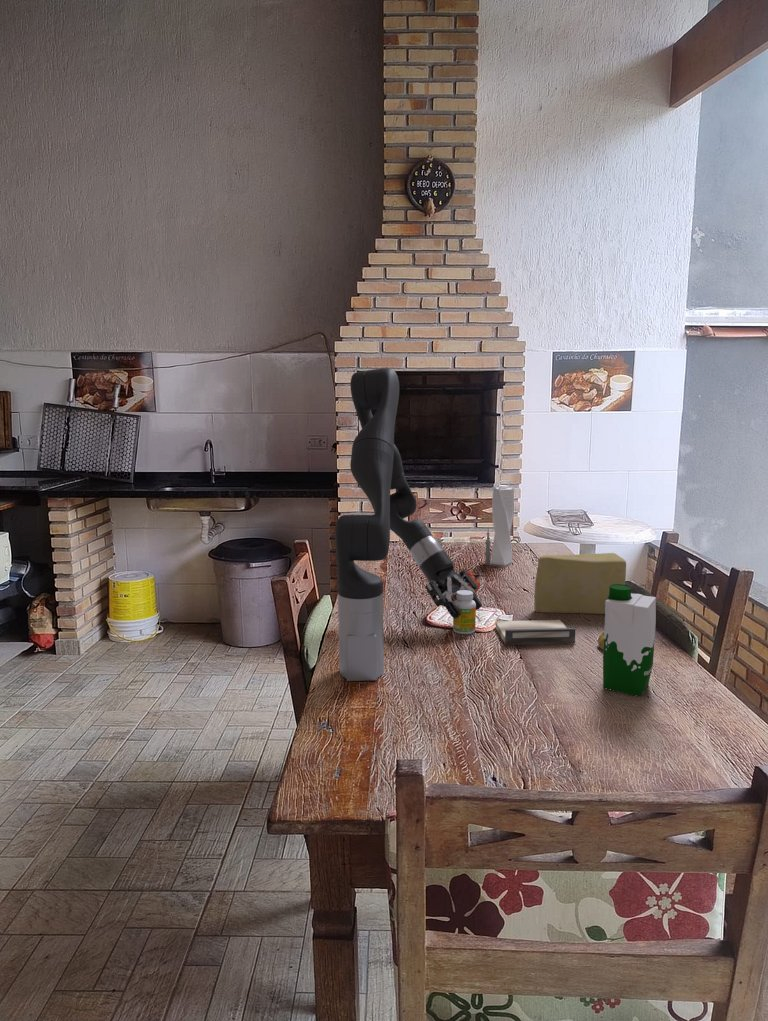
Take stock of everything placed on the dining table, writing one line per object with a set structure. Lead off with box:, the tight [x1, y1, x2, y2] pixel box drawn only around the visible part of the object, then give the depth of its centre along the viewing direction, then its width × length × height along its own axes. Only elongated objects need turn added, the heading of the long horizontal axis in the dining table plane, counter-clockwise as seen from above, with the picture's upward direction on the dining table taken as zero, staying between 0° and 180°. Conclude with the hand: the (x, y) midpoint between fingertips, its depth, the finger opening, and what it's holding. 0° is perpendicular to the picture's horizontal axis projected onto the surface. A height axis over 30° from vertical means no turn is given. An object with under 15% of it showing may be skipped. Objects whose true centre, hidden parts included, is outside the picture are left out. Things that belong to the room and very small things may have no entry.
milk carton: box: [602, 584, 657, 697], centre depth 134 cm, size 9×9×20 cm
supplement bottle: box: [452, 590, 477, 635], centre depth 167 cm, size 5×5×10 cm
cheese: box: [533, 552, 627, 615], centre depth 180 cm, size 22×10×15 cm, turn 91°
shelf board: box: [494, 619, 577, 646], centre depth 164 cm, size 12×16×4 cm
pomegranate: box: [460, 569, 482, 594], centre depth 196 cm, size 7×7×10 cm
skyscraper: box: [483, 479, 515, 568], centre depth 228 cm, size 8×8×28 cm
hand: (468, 612), depth 166 cm, fingers open, 8 cm apart
